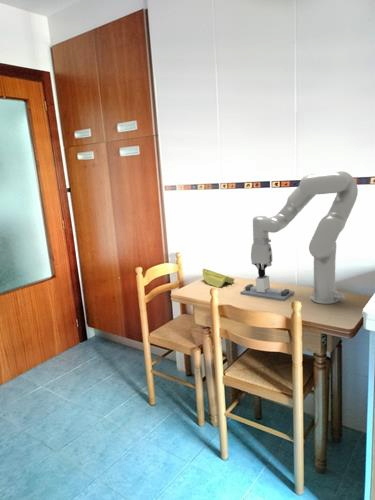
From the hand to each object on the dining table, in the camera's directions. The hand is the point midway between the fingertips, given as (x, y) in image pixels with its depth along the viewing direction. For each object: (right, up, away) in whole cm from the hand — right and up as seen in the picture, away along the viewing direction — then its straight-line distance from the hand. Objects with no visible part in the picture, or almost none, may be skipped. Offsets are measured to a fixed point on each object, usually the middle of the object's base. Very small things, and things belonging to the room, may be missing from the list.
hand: (261, 276), depth 198 cm
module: (+1, -7, +1) cm, 8 cm away
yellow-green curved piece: (-20, -6, +27) cm, 34 cm away
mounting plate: (+3, -9, 0) cm, 9 cm away
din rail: (+3, -8, 0) cm, 8 cm away
